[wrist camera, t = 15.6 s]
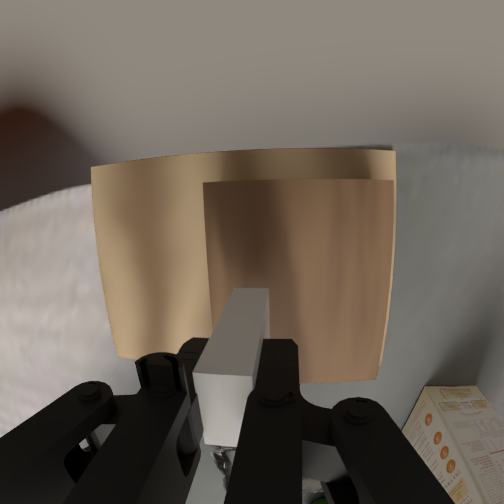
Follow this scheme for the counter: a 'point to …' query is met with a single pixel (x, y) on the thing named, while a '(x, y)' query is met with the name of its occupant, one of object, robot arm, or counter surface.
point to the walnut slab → (308, 264)
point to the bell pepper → (320, 501)
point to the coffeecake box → (460, 442)
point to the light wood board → (188, 233)
